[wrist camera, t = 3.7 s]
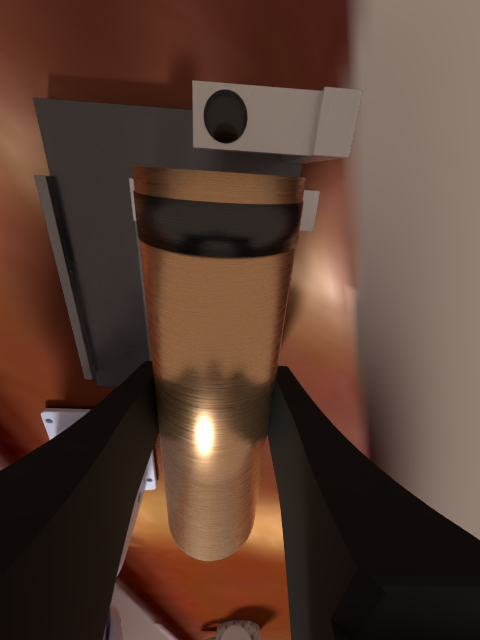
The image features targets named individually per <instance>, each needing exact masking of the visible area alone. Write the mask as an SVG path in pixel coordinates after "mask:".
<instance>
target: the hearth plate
mask: <svg viewBox="0 0 480 640" xmlns="http://www.w3.org/2000/svg"><path fill="white" fill-rule="evenodd" d="M33 100H34V105H35V109H36V114H37V118H38V123H39V127H40V132H41V136H42V140H43V145H44V149H45V154H46V158H47V163H48V167H49V172H50V176H43V175H34V177H35V181H36V185H37V189H38V193H39V197H40V201H41V205H42V209H43V213H44V217H45V221H46V225H47V229H48V233H49V237H50V241H51V245H52V249H53V253H54V257H55V261H56V265H57V269H58V273H59V278H60V282H61V286H62V290H63V294H64V298H65V302H66V306H67V310H68V314H69V318H70V322H71V326H72V330H73V334H74V338H75V342H76V346H77V350H78V354H79V358H80V362H81V366H82V370H83V374H84V378H85V379H88V380H93V378H94V377H96V381H97V386H104V387H118V386H119V385H120V384H121V383H122V382H123V381H124V380H125V379H126V378H127V377H129V376H130V375H131V374H132V373H133V372H134V371H135V370H136V369H137V368H138V367H139V366H140V365H141V364H142V363H143V362H145V361H152V356H151V346H150V337H149V327H148V317H147V308H146V298H145V288H144V278H143V269H142V259H141V249H140V240H139V238H138V233H137V223H136V221H134V219H133V210H132V201H131V192H130V183H129V178H133V172H132V166H144V167H158V168H173V169H188V170H202V171H217V172H231V173H246V174H261V175H275V176H290V177H301V170H302V164H300V163H286V162H282V155H275V154H261V153H247V152H233V151H219V150H205V149H195V148H194V147H193V110H186V109H173V108H160V107H147V106H134V105H121V104H108V103H95V102H83V101H70V100H57V99H44V98H33Z"/></svg>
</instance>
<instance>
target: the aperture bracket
mask: <svg viewBox="0 0 480 640" xmlns="http://www.w3.org/2000/svg"><path fill="white" fill-rule="evenodd" d="M192 88H193V147H194V148H195V149H205V150H219V151H233V152H247V153H261V154H275V155H282V162H286V163H300V164H304V163H311V162H319V161H326V160H334V159H341V158H349V155H350V150H351V146H352V141H353V136H354V131H355V126H356V122H357V117H358V112H359V107H360V102H361V98H362V93H363V90H358V89H345V88H333V87H324V88H323V89H322V90H321V91H316V90H304V89H292V88H279V87H267V86H255V85H243V84H230V83H218V82H206V81H194V80H192Z"/></svg>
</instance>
